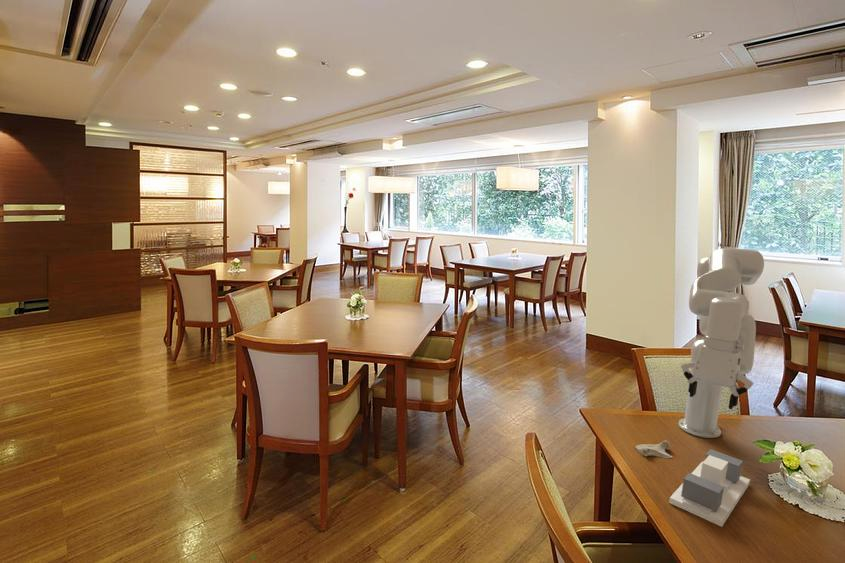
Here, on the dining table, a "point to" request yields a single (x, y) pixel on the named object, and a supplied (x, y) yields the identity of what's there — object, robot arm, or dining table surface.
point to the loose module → (714, 470)
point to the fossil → (654, 449)
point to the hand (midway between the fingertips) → (711, 401)
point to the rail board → (724, 504)
